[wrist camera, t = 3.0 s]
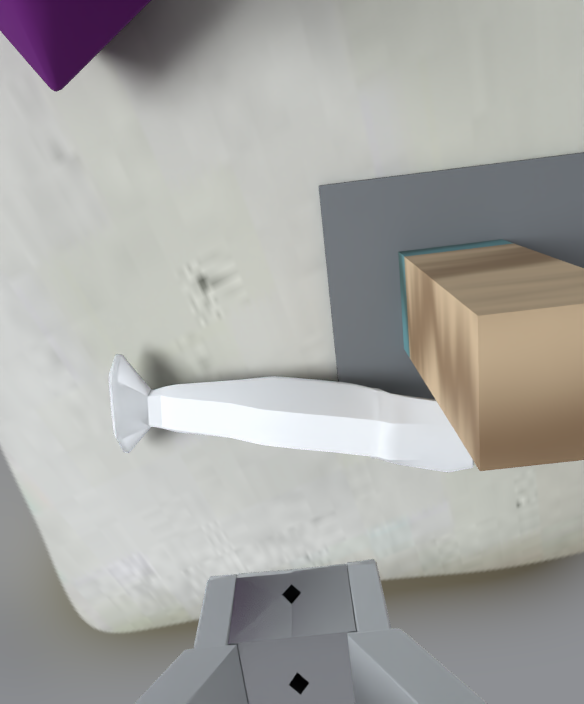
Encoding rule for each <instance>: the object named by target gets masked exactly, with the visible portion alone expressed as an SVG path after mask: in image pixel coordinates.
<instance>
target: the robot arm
mask: <svg viewBox="0 0 584 704" xmlns="http://www.w3.org/2000/svg"><path fill="white" fill-rule="evenodd" d="M134 704H488V703H487V702H485V701H484V700H483V699H482V698H481V697H480V696H479V695H477V694H476V693H475V692H474V691H473V690H471V689H470V688H469V687H468V686H467V685H466V684H465V683H463V682H462V681H461V680H460V679H459V678H458V677H456V676H455V675H454V674H453V673H452V672H451V671H449V670H448V669H447V668H446V667H445V666H444V665H442V664H441V663H440V662H439V661H438V660H437V659H435V658H434V657H433V656H432V655H431V654H430V653H429V652H427V651H426V650H425V649H424V648H423V647H422V646H420V645H419V644H418V643H417V642H416V641H415V640H413V639H412V638H411V637H410V636H409V635H408V634H406V633H405V632H404V631H403V630H402V629H400V628H396V629H391V624H390V620H389V616H388V611H387V607H386V602H385V598H384V594H383V589H382V585H381V580H380V576H379V572H378V567H377V563H376V561H375V560H374V559H372V560H364V561H356V562H349V563H347V565H346V564H338V565H329V566H320V567H311V568H302V569H293V570H292V569H290V570H278V571H266V572H253V573H241V574H238V575H236V574H233V575H222V576H211V577H210V578H209V580H208V581H207V584H206V589H205V594H204V599H203V604H202V609H201V614H200V619H199V624H198V629H197V634H196V639H195V644H194V649H187V650H184V651H183V652H182V654H181V655H180V656H179V657H178V658H177V659H176V660H175V661H174V662H173V663H172V664H171V665H170V666H169V667H168V668H167V669H166V670H165V672H164V673H163V674H162V675H161V676H160V677H159V678H158V679H157V680H156V681H155V682H154V683H153V684H152V685H151V686H150V687H149V688H148V689H147V691H146V692H145V693H144V694H143V695H142V696H141V697H140V698H139V699H138V700H137V701H136V702H135V703H134Z"/></svg>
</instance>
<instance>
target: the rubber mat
mask: <svg viewBox="0 0 584 704" xmlns="http://www.w3.org/2000/svg"><path fill="white" fill-rule="evenodd" d="M319 195H320V205H321V214H322V224H323V234H324V244H325V254H326V264H327V274H328V284H329V294H330V304H331V314H332V324H333V334H334V344H335V354H336V364H337V374H338V382H345V383H351V384H357V385H362V386H366V387H370V388H378V389H381V390H383V391H386V392H388V393H392V394H398V395H405V396H413V397H420V398H428V399H435V398H434V396H433V395H432V393H431V391H430V390H429V388H428V387H427V385H426V383H425V382H424V380H423V379H422V377H421V375H420V374H419V372H418V371H417V369H416V367H415V366H414V364H413V363H412V361H411V359H410V358H409V356H408V354H407V353H406V351H405V350H404V341H403V324H402V307H401V290H400V273H399V256H398V252H400V251H408V250H417V249H425V248H433V247H441V246H450V245H458V244H466V243H474V242H483V241H491V240H499V239H503V240H506V241H508V242H511V243H514V244H517V245H520V246H522V247H525V248H528V249H531V250H534V251H536V252H539V253H542V254H545V255H548V256H551V257H553V258H556V259H559V260H562V261H565V262H567V263H570V264H573V265H576V266H579V267H581V268H584V152H583V153H575V154H567V155H559V156H551V157H543V158H536V159H528V160H520V161H512V162H504V163H496V164H488V165H480V166H472V167H464V168H456V169H448V170H440V171H432V172H424V173H416V174H408V175H400V176H392V177H384V178H376V179H368V180H360V181H352V182H344V183H336V184H328V185H320V186H319Z"/></svg>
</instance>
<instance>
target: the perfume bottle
mask: <svg viewBox="0 0 584 704" xmlns="http://www.w3.org/2000/svg"><path fill="white" fill-rule="evenodd" d="M150 1H151V0H0V31H1V32H2V33H3V34H4V35H5V37H6V38H7V39H8V40H9V41H10V42H11V43H12V45H13V46H14V47H15V48H16V49H17V50H18V52H19V53H20V54H21V55H22V56H23V57H24V58H25V60H26V61H27V62H28V63H29V64H30V65H31V67H32V68H33V69H34V70H35V71H36V72H37V73H38V75H39V76H40V77H41V78H42V79H43V80H44V82H45V83H46V84H47V85H48V86H49V87H50V88H51V89H52V90H54V91H59V90H61V89H63V88H64V87H65V86H66V85H67V84H68V83H69V82H70V81H71V80H72V79H73V78H74V77H75V76H76V75H77V74H78V73H79V72H80V71H81V70H82V69H83V68H84V67H85V66H86V65H87V64H88V63H89V62H90V61H91V60H92V59H93V58H94V57H95V56H96V55H97V54H98V53H99V52H100V51H101V50H102V49H103V48H104V47H105V46H106V45H107V44H108V43H109V42H110V41H111V40H112V39H113V38H114V37H115V36H116V35H117V34H118V33H119V32H120V31H121V30H122V29H123V28H124V27H125V26H126V25H127V24H128V23H129V22H130V21H131V20H132V19H133V18H134V17H135V16H136V15H137V14H138V13H139V12H140V11H141V10H142V9H143V8H144V7H145V6H146V5H147V4H148V3H149V2H150Z"/></svg>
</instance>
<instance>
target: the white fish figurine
mask: <svg viewBox="0 0 584 704" xmlns="http://www.w3.org/2000/svg"><path fill="white" fill-rule="evenodd" d="M109 390H110V401H111V413H112V424H113V434H114V435H115V437H116V439H117V441H118V443H119V445H120V447H121V448H122V450H123V452H127V453H129V452H130V451H131V450H132V449H133V448H134V447H135V445H136V444H137V443H138V442H139V441H140V440H141V438H142V437H143V436H144V435H145V434H146V432H147V431H148V430H149V429H150V428H151V427H157V428H162V429H166V430H170V431H174V432H179V433H189V434H199V435H209V436H219V437H229V438H234V439H239V440H243V441H247V442H252V443H256V444H260V445H267V446H276V447H285V448H294V449H304V450H315V451H326V452H337V453H345V454H354V455H364V456H370V457H371V458H378V459H381V460H383V461H387V462H390V463H394V464H399V465H405V466H411V467H417V468H423V469H429V470H436V471H442V472H453V471H458V470H463V469H468V468H473V463H474V461H473V459H472V457H471V456H470V454H469V453H468V451H467V449H466V448H465V446H464V445H463V443H462V441H461V440H460V438H459V437H458V435H457V433H456V432H455V430H454V428H453V427H452V425H451V424H450V422H449V420H448V419H447V417H446V416H445V414H444V412H443V411H442V409H441V408H440V406H439V404H438V403H437V401H436V400H435V399H428V398H420V397H413V396H405V395H398V394H392V393H388V392H386V391H383V390H381V389H378V388H370V387H366V386H362V385H357V384H351V383H345V382H336V381H326V380H315V379H304V378H291V377H279V376H269V377H260V378H250V379H241V380H228V381H215V382H201V383H187V384H175V385H170V386H166V387H161V388H158V389H154V390H153V389H151V388H150V387H149V386H148V385H147V384H146V382H145V381H144V380H143V379H142V378H141V376H140V375H139V374H138V373H137V372H136V370H135V369H134V368H133V367H132V366H131V364H130V363H129V362H128V361H127V360H126V359H125V357H124V356H123V355H121V354H116V355H115V358H114V361H113V364H112V367H111V370H110V373H109Z"/></svg>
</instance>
